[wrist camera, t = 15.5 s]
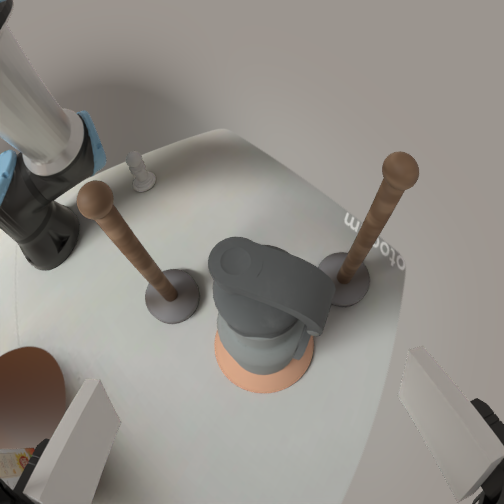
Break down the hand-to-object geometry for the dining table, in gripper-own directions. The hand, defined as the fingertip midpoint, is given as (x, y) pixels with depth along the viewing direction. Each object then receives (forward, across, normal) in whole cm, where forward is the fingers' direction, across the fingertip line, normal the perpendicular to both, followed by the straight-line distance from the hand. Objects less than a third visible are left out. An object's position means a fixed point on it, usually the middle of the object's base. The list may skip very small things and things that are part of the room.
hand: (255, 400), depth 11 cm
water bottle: (+29, +1, -17) cm, 34 cm away
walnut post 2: (+36, +15, -11) cm, 40 cm away
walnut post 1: (+36, -13, -11) cm, 40 cm away
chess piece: (+54, -21, +8) cm, 58 cm away
